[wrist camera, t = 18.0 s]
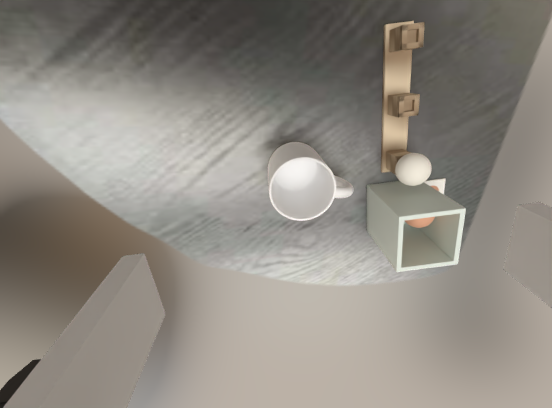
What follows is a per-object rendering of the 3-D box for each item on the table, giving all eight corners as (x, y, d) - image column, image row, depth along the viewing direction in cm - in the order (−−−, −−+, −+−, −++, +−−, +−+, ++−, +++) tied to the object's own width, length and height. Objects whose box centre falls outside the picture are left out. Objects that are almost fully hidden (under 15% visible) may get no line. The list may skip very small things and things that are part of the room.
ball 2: (402, 203, 40) (433, 190, 40) (392, 205, 44) (419, 194, 44) (416, 232, 40) (447, 220, 40) (404, 232, 44) (432, 221, 44)
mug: (350, 152, 45) (374, 171, 35) (334, 201, 48) (352, 231, 38) (273, 135, 43) (277, 150, 34) (262, 186, 46) (262, 214, 37)
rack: (384, 25, 38) (398, 18, 34) (411, 21, 38) (429, 14, 34) (381, 171, 46) (392, 180, 42) (403, 168, 46) (417, 177, 42)
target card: (419, 181, 47) (420, 182, 47) (444, 178, 47) (445, 178, 47) (416, 220, 50) (417, 221, 49) (440, 217, 50) (441, 218, 49)
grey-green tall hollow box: (366, 184, 47) (399, 216, 36) (417, 178, 47) (465, 208, 36) (366, 229, 50) (396, 272, 39) (414, 223, 50) (457, 264, 39)
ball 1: (390, 151, 40) (404, 159, 36) (422, 147, 40) (440, 155, 36) (389, 181, 42) (403, 192, 38) (419, 177, 42) (436, 188, 38)
